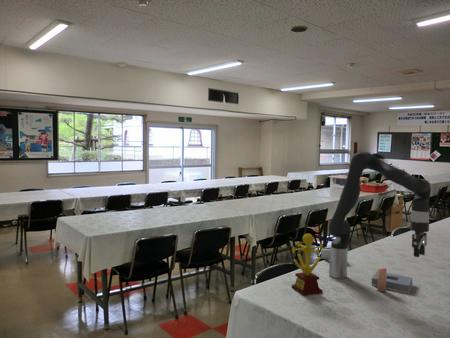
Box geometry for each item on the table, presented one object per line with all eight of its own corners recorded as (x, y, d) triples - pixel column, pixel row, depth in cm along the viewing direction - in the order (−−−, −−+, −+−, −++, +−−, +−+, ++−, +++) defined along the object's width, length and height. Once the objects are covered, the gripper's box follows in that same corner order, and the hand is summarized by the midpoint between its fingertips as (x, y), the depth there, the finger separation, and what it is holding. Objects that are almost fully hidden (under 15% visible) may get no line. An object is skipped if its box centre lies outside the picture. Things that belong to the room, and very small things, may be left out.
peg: (376, 291, 184) (377, 268, 183) (378, 288, 187) (379, 266, 187) (384, 293, 182) (385, 270, 181) (386, 290, 185) (387, 268, 184)
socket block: (371, 285, 192) (371, 278, 192) (377, 277, 204) (377, 271, 203) (408, 293, 182) (408, 285, 182) (412, 285, 193) (412, 277, 193)
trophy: (288, 293, 180) (289, 235, 178) (295, 283, 194) (296, 229, 192) (317, 298, 174) (318, 238, 172) (322, 287, 188) (323, 232, 187)
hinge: (348, 262, 233) (346, 249, 230) (345, 266, 229) (343, 252, 226) (324, 256, 244) (322, 244, 241) (321, 260, 241) (319, 247, 238)
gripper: (415, 219, 174) (415, 253, 173) (406, 220, 163) (405, 256, 163) (432, 221, 168) (432, 255, 168) (424, 222, 158) (423, 258, 157)
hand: (419, 255), depth 165 cm, fingers open, 8 cm apart
